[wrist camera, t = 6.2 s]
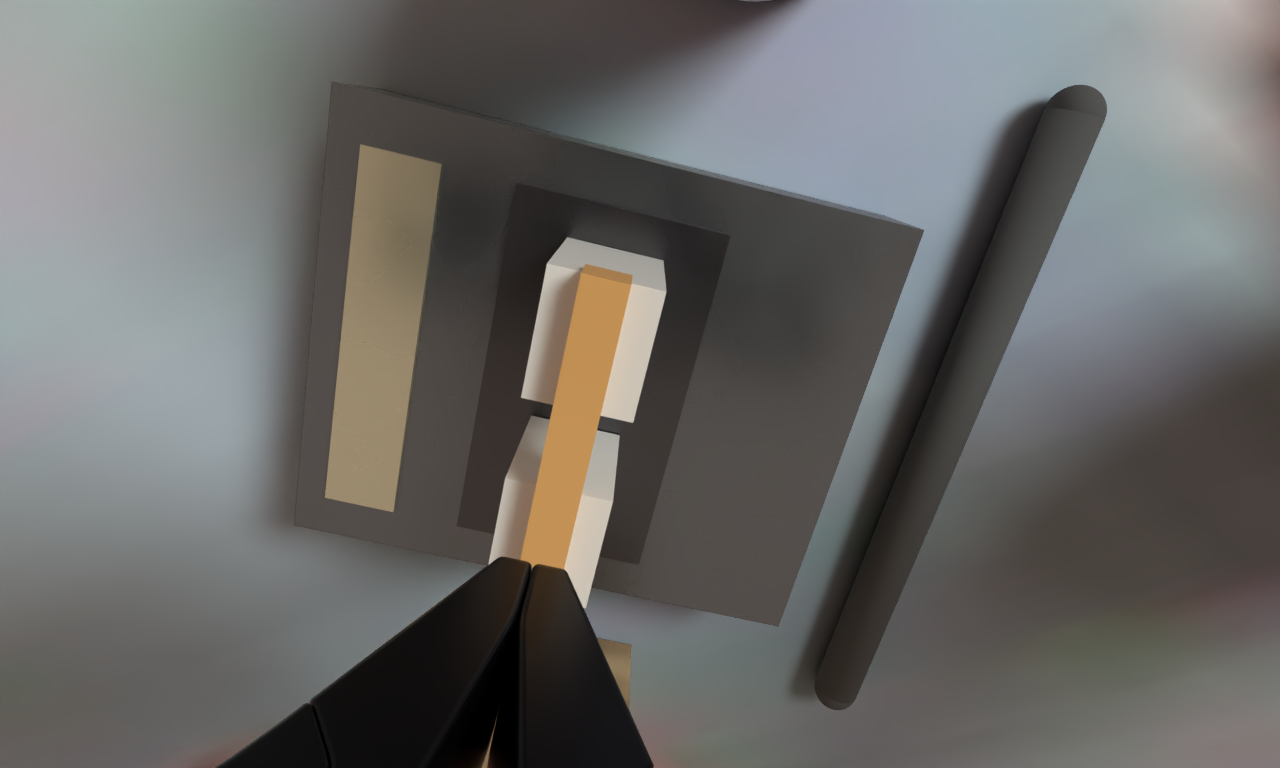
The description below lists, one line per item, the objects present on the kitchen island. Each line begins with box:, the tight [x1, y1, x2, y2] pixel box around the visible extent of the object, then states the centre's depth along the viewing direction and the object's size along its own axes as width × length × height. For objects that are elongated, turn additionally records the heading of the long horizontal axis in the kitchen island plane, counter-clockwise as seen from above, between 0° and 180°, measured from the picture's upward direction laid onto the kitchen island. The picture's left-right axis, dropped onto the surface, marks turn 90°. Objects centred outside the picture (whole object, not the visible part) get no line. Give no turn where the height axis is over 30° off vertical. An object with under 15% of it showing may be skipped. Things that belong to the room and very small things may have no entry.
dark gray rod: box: [815, 85, 1107, 710], centre depth 18 cm, size 1×17×1 cm, turn 167°
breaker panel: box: [294, 82, 924, 626], centre depth 17 cm, size 12×10×3 cm
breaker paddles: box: [488, 237, 667, 608], centre depth 14 cm, size 2×7×4 cm, turn 167°
